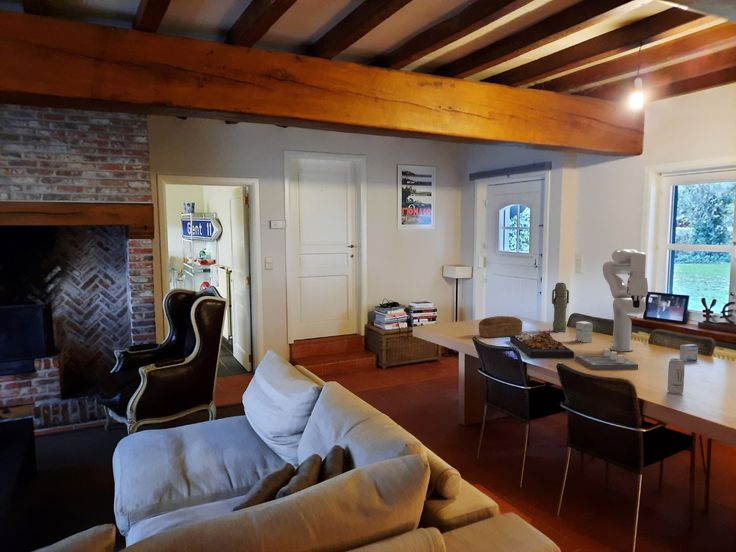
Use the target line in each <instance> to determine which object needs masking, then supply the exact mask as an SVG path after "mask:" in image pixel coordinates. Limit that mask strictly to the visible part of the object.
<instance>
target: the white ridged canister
mask: <svg viewBox="0 0 736 552" xmlns="http://www.w3.org/2000/svg"><path fill="white" fill-rule="evenodd" d="M593 324H594V323H592V322H590V321H583V320H582V321H576V322H575V341H576V340H578V341H577V342H580V341H581V342H580V343H582V342H586V343H592V342H593ZM591 341H592V342H591Z"/></svg>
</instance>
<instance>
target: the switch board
mask: <svg viewBox="0 0 736 552" xmlns="http://www.w3.org/2000/svg"><path fill="white" fill-rule="evenodd" d="M575 361H576V362H578V363H579V364H582V365H584V366H585V367H587V368H588V369H591V370H595V371H597V370H599V371H601V370H638V369H639V363H636V362H634V361H632V360H629V359H627V358H625V357H624V363H617V360H611V359H610V356H609V357H604V356H603V354H601V355H600V354H596V355H595V354H594V355H589V354H588V355H585V354H584V355H575Z"/></svg>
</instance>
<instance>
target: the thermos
mask: <svg viewBox="0 0 736 552" xmlns="http://www.w3.org/2000/svg"><path fill="white" fill-rule="evenodd" d="M569 303H570V291H569V289H567V284H566V283H565V282H557V283H555V287H554V289H552V291H551V304H552V305H553V310H554V311H553V321H552V332H553V331H558V332H564V333H566V332H567V321H566V320H567V318H566V317H567V316H566V315H567V314H566V313H567V306H568V305H569ZM565 331H566V332H565ZM558 332H557V333H558Z"/></svg>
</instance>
